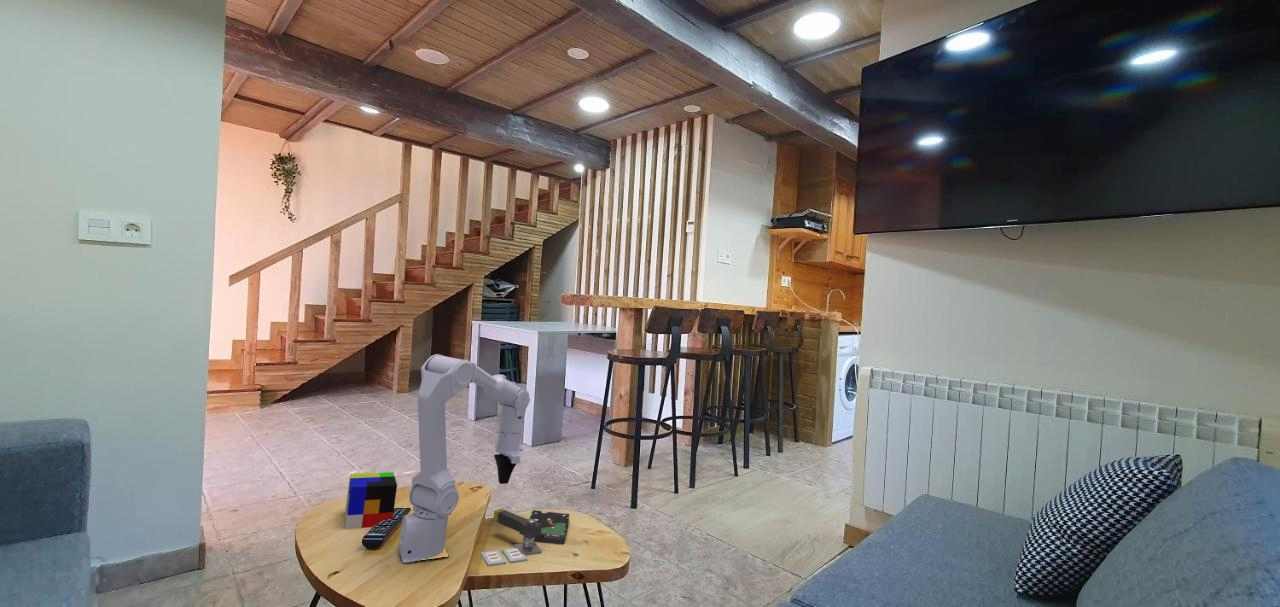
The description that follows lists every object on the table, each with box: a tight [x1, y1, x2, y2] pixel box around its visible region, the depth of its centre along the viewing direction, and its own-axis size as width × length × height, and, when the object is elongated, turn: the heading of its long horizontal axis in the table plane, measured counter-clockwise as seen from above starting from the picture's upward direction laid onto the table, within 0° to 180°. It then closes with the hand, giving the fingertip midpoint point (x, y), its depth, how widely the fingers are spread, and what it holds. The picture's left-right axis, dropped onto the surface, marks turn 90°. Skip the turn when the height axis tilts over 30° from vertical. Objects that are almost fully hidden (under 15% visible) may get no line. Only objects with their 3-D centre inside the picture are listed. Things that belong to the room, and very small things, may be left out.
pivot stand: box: [513, 518, 543, 556], centre depth 125 cm, size 5×5×7 cm
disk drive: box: [522, 509, 570, 546], centre depth 137 cm, size 10×3×15 cm
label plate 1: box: [480, 549, 507, 567], centre depth 119 cm, size 4×6×1 cm, turn 32°
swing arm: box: [492, 508, 542, 538], centre depth 128 cm, size 13×4×2 cm, turn 58°
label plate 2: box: [501, 547, 528, 564], centre depth 122 cm, size 4×6×1 cm, turn 32°
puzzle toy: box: [344, 471, 398, 530], centre depth 131 cm, size 10×10×10 cm
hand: (503, 482), depth 139 cm, fingers closed
